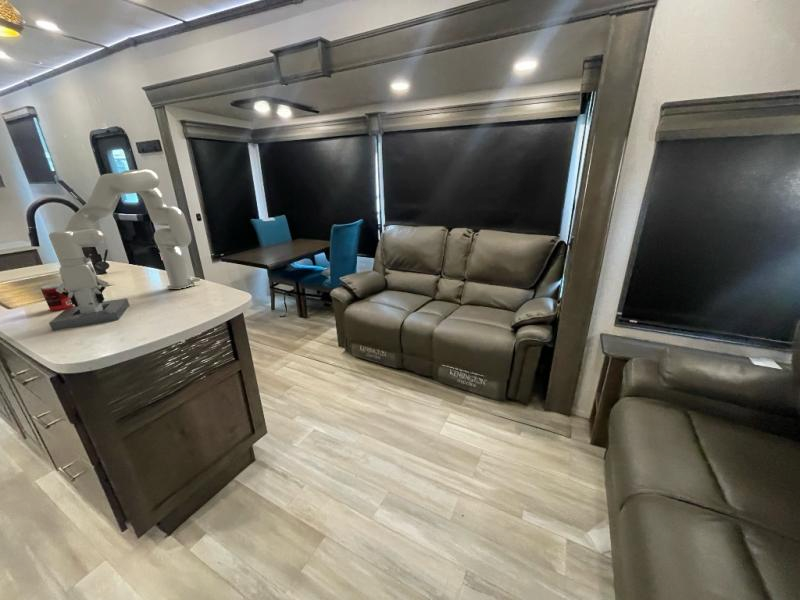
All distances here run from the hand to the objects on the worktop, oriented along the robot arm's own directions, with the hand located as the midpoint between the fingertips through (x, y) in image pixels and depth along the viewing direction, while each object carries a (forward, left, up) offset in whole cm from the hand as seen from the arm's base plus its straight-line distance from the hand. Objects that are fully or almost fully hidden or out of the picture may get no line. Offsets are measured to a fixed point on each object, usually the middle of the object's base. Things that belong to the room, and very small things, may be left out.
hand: (89, 303), depth 132 cm
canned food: (+17, -23, -6) cm, 29 cm away
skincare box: (0, 0, -5) cm, 5 cm away
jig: (0, 0, -6) cm, 6 cm away
